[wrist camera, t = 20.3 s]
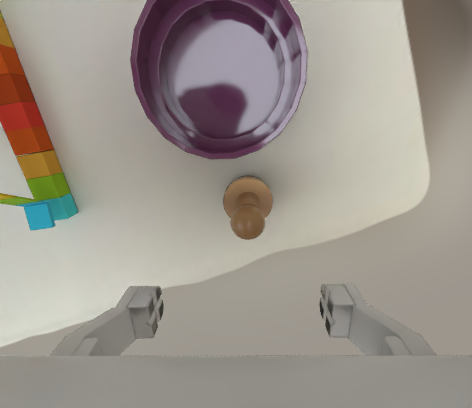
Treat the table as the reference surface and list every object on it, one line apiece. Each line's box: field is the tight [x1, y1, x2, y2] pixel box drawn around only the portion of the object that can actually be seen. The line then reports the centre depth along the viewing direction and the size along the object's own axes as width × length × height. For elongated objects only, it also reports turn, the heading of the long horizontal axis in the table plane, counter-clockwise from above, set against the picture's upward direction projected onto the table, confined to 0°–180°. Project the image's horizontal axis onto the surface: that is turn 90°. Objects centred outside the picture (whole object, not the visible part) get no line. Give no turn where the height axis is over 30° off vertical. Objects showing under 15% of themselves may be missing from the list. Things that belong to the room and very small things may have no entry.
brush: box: [223, 176, 273, 240], centre depth 25 cm, size 5×5×9 cm
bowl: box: [130, 0, 307, 159], centre depth 23 cm, size 14×14×6 cm
